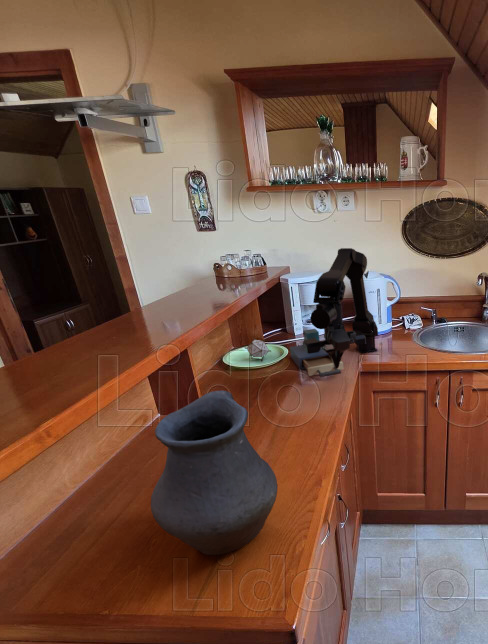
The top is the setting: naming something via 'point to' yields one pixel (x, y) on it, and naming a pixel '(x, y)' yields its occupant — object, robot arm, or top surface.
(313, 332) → the block
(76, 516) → the top surface
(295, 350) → the cabinet
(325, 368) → the drawer
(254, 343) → the game die
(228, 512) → the dark grey clay pot
